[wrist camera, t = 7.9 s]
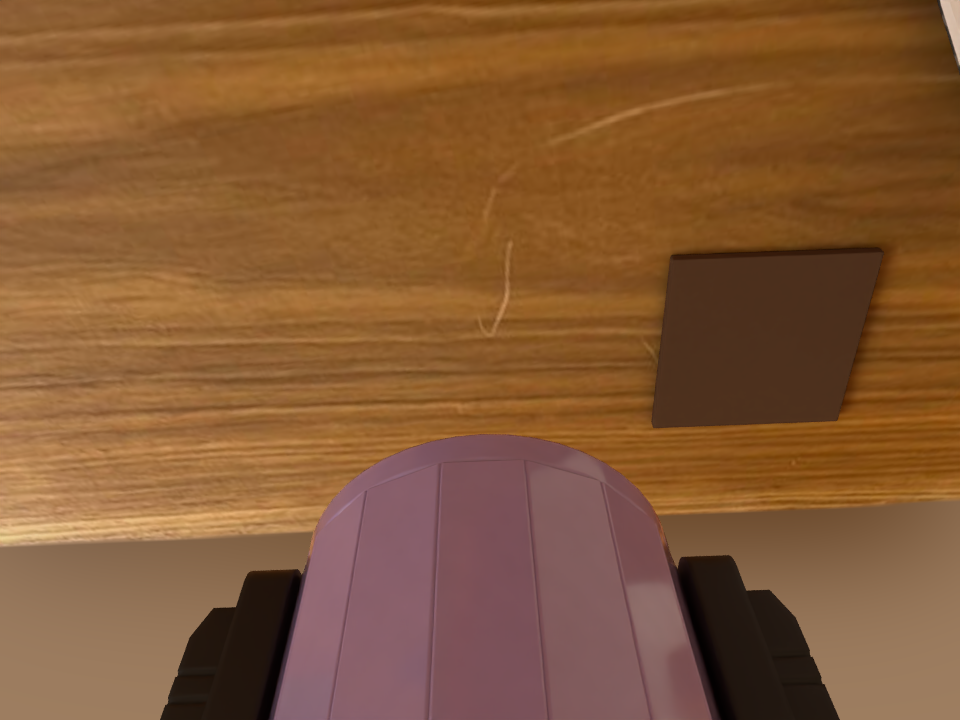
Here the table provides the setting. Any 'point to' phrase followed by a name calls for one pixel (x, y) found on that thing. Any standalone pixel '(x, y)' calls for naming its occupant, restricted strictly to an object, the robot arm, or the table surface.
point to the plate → (952, 24)
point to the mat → (761, 335)
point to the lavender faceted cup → (491, 595)
